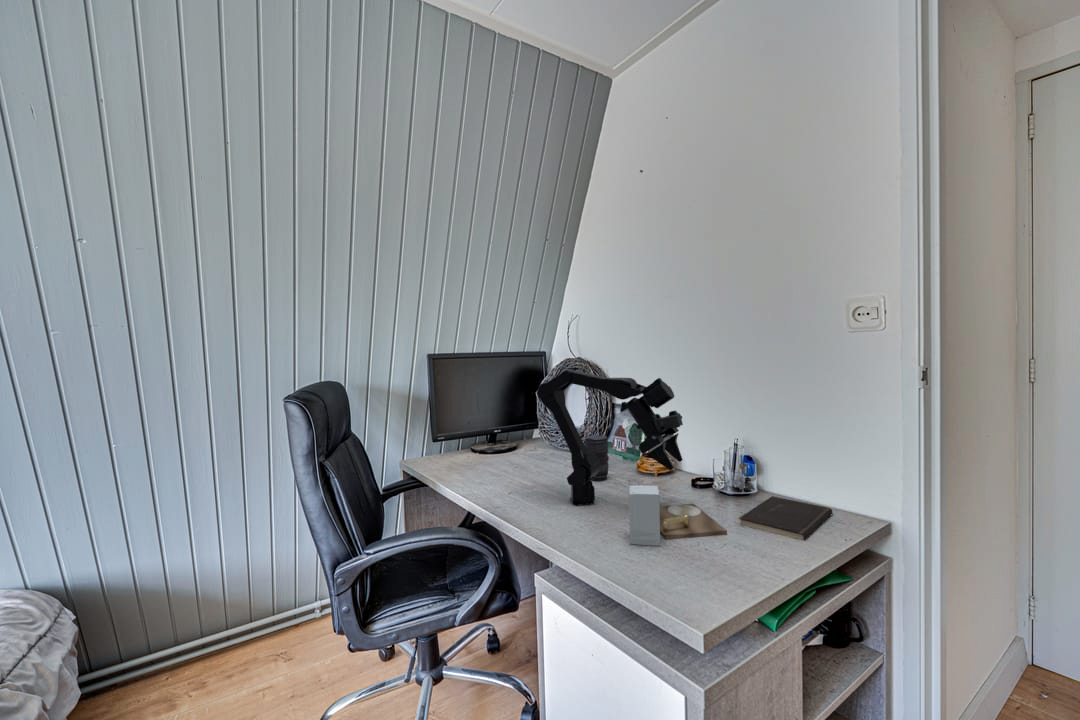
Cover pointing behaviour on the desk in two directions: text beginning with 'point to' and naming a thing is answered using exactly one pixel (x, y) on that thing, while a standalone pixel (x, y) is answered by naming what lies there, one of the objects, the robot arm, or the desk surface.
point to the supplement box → (644, 515)
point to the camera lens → (599, 454)
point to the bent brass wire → (677, 520)
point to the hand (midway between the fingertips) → (676, 465)
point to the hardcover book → (786, 517)
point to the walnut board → (689, 523)
